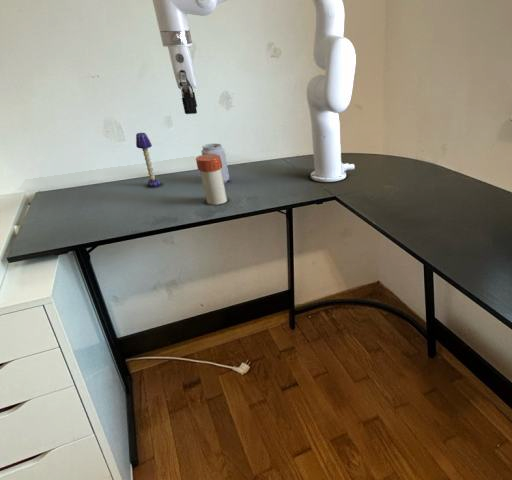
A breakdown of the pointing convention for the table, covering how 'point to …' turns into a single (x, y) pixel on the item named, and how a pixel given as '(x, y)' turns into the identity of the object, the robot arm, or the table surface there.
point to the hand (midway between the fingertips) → (191, 110)
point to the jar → (214, 187)
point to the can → (220, 151)
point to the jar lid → (209, 162)
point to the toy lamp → (147, 157)
